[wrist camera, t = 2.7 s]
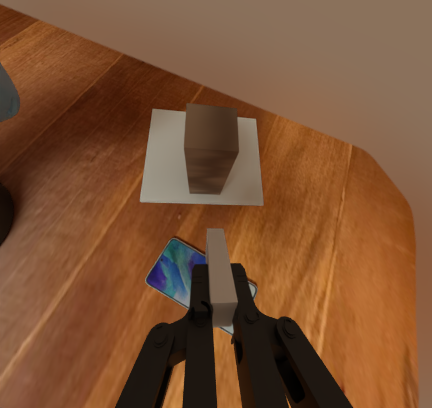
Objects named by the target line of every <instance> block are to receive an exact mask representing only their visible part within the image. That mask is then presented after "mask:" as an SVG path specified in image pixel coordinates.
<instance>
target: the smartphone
mask: <svg viewBox="0 0 432 408" xmlns="http://www.w3.org/2000/svg"><path fill="white" fill-rule="evenodd" d="M195 264H206V255H205V254H202V253H201V252H199V251H198V250H196V249H195V248H193V247H191V246H189V245H187V244H185V243H184V242H182V241H180V240H179V239H177V238H172V239H170V240H169V242H168V243H167V245H166V247H165V248H164V250H163V251H162V253H161V254H160V256H159V258H158V259H157V261H156V262H155V264H154V265H153V267H152V268H151V270H150V272H149V273H148V275H147V276H146V279H145V282H146V284H147V285H149V286H150V287H152V288H154V289H155V290H157V291H159V292H160V293H162V294H164V295H165V296H167V297H169V298H170V299H172V300H174V301H175V302H177V303H179V304H180V305H182V306H184V307H185V308H187V309H189V305H190V291H191V276H192V269H193V267H194V265H195ZM248 282H249V286H250V289H251V293H252V296H253V300H254V299H255V296H256V294H257V287H256V285H255V284H253V283H252V282H250V281H248ZM218 328H220V329H222V330H223V331H225V332H227V333H228V334H230V335H231V336H232V335H233V332H234V331H233V324H232V326H231V327H218Z"/></svg>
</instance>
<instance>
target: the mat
mask: <svg viewBox="0 0 432 408" xmlns="http://www.w3.org/2000/svg"><path fill="white" fill-rule="evenodd" d="M185 119H186V112H181V111H171V110H161V109H153V110H152V117H151V124H150V131H149V139H148V146H147V153H146V160H145V167H144V174H143V181H142V189H141V196H140V202H154V203H187V204H220V205H252V206H263V205H264V202H263V191H262V180H261V169H260V158H259V148H258V137H257V126H256V119H251V118H241V117H237V119H238V138H239V153H238V155H237V158H236V160H235V162H234V164H233V167H232V169H231V171H230V173H229V176H228V178H227V180H226V182H225V185H224V187H223V189H222V191H221V194H220V195H211V194H189V186H188V178H187V170H186V162H185V154H184V135H185Z"/></svg>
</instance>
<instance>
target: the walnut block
mask: <svg viewBox="0 0 432 408" xmlns="http://www.w3.org/2000/svg"><path fill="white" fill-rule="evenodd" d="M238 153H239V138H238V119H237V108H228V107H218V106H209V105H200V104H190V103H186V119H185V135H184V154H185V162H186V170H187V178H188V186H189V194H211V195H220V194H221V191H222V189H223V187H224V185H225V182H226V180H227V178H228V176H229V173H230V171H231V169H232V167H233V164H234V162H235V160H236V158H237V155H238Z"/></svg>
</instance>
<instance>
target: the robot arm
mask: <svg viewBox="0 0 432 408" xmlns="http://www.w3.org/2000/svg"><path fill="white" fill-rule="evenodd" d="M19 108H20V98H19V95H18V92H17V90H16V88H15V86H14V84H13V82H12V80H11V78H10V77H9V75H8V74H7V72H6V70H5V69H4V68H3V66H2V65H1V63H0V122H2V121H5V120H7V119H10V118H12V117H13V116H15V115H16V114H17V113H18V111H19ZM12 218H13V202H12V198H11V196H10V194H9V192H8V190H7V189H6V188H5V187H4V186H3V185H2V184H1V183H0V244H1V242H2V241H3V239H4V238H5V236H6V234H7V232H8V230H9V228H10V225H11V222H12ZM232 324H233V331H234V332H233V335H232V339H231V344H234V351H235V358H236V365H237V373H238V380H239V387H240V394H241V401H242V408H289V406H288V402H287V399H288V401H289V403H290V406H291V408H353V407H352V405H351V404H350V402H349V401H348V399H347V398H346V396H345V395H344V393H343V392H342V390H341V389H340V387H339V386H338V384H337V383H336V381H335V380H334V378H333V377H332V375H331V374H330V372H329V371H328V369H327V368H326V366H325V365H324V363H323V362H322V360H321V359H320V357H319V356H318V354H317V353H316V351H315V350H314V348H313V347H312V345H311V344H310V342H309V341H308V339H307V338H306V336H305V335H304V333H303V332H302V330H301V329H300V327H299V326H298V325H297V323H296V322H295V321H294V320H292V319H291V318H289V317H286V316H284V317H280V318H279V319H275V318H272V317H269V316H266V315H264V314H263V313H261V312H260V311H259V310H258V309H257V307H256V306H255V303H254V300H253V296H252V293H251V289H250V286H249V282H248V279H247V276H246V272H245V269H244V267H243V266H242V265H241V263H230V260H229V255H228V250H227V245H226V240H225V234H224V229H214V228H207V239H206V264H195V265H194V267H193V269H192V276H191V291H190V305H189V309H188V312H187V313H186V315H185V316H184V317H183V318H182V319H180V320H178V321H176V322H174V323H171V324H168V323H159V324H157V325H155V326H154V327H153V328H152V329H151V331H150V332H149V334H148V336H147V338H146V340H145V342H144V344H143V347H142V349H141V351H140V353H139V355H138V358H137V360H136V362H135V364H134V366H133V369H132V371H131V373H130V375H129V378H128V380H127V382H126V384H125V386H124V389H123V391H122V393H121V395H120V397H119V400H118V402H117V404H116V406H115V408H162V406H163V403H164V399H165V396H166V392H167V389H168V385H169V382H170V378H171V375H172V371H173V368H174V366H175V365H176V364H178V363H180V362H182V361H184V360H185V359H186V361H185V377H184V392H183V407H182V408H217V396H216V377H215V359H214V341H213V328H214V327H231V326H232ZM285 395H286V396H285ZM286 397H287V399H286Z"/></svg>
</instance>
